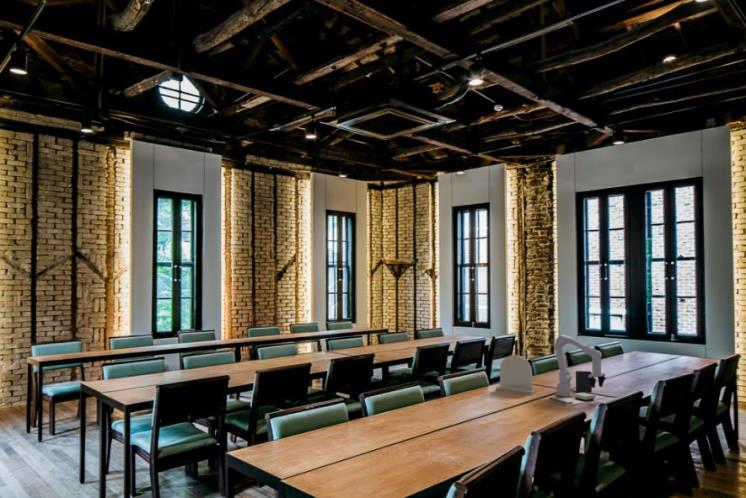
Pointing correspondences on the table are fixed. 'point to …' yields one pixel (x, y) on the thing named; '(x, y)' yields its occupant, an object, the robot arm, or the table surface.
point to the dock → (565, 401)
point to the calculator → (583, 381)
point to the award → (516, 375)
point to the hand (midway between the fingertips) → (597, 387)
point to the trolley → (584, 396)
